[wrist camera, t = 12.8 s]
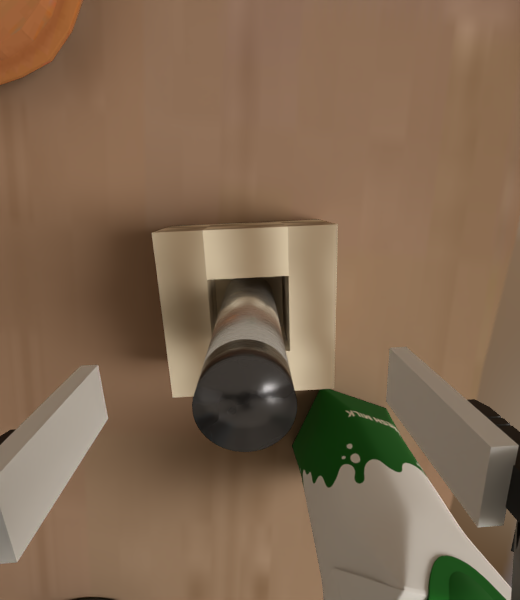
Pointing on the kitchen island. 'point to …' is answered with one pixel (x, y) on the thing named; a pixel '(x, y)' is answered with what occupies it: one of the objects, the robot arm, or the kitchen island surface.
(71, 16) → the pie
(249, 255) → the birch socket block
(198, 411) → the steel peg
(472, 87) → the kitchen island surface
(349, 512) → the milk carton
